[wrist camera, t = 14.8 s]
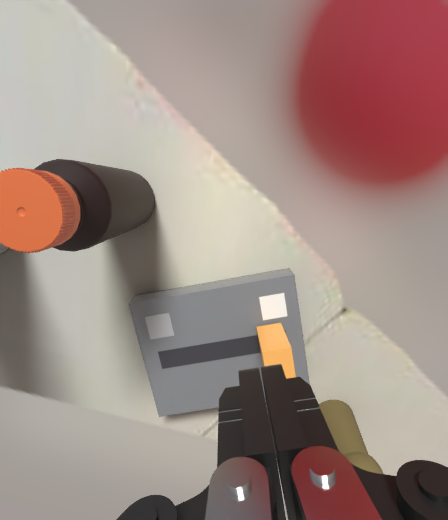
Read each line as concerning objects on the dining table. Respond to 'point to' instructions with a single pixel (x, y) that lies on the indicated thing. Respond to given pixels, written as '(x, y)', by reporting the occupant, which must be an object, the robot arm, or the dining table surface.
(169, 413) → the panel
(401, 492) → the robot arm
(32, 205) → the bottle
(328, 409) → the olive pawn
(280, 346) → the knob
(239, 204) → the dining table surface
